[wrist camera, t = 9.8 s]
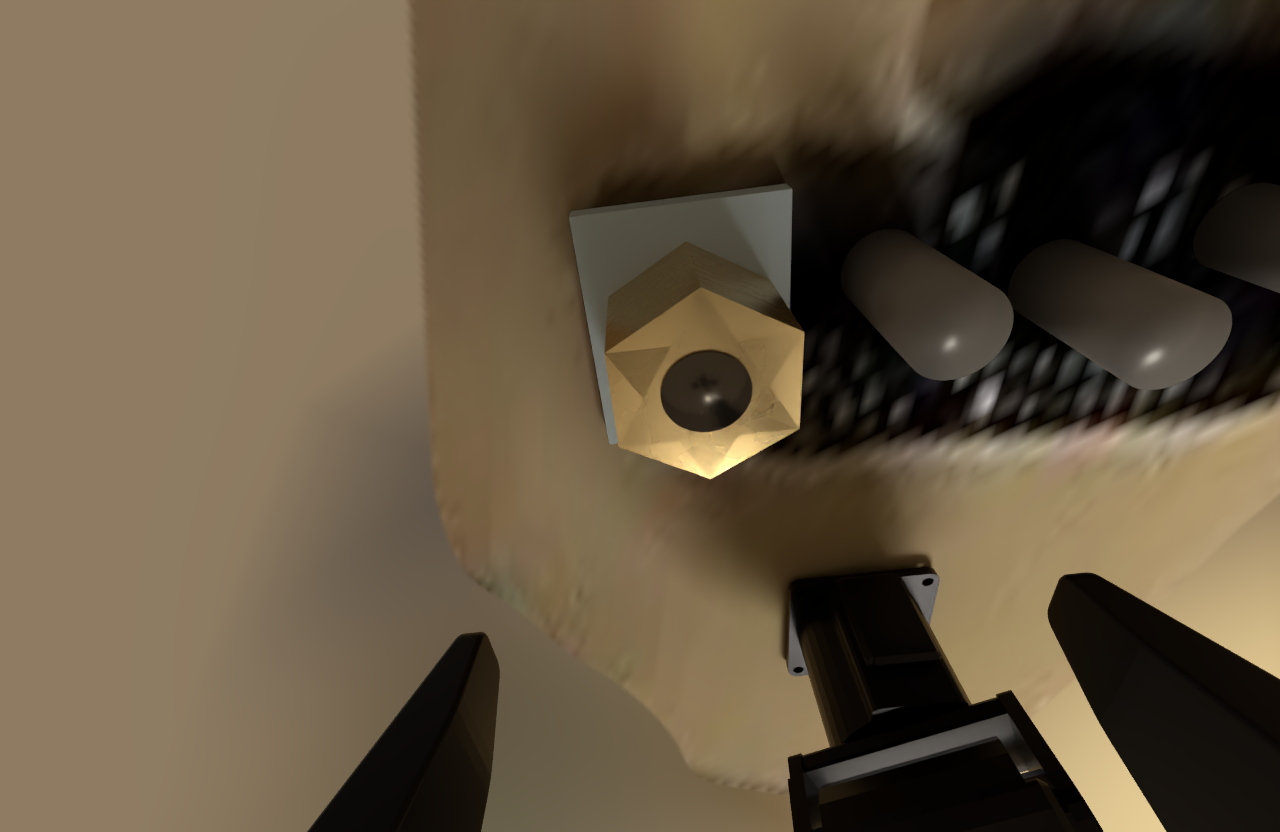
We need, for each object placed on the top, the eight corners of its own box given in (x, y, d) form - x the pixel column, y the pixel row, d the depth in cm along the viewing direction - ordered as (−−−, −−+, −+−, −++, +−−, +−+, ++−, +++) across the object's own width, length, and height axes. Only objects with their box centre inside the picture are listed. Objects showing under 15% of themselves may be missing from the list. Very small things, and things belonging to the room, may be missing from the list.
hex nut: (768, 400, 20) (798, 471, 17) (624, 414, 20) (624, 489, 17) (770, 231, 17) (807, 276, 13) (601, 250, 17) (596, 299, 14)
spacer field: (1249, 292, 19) (1427, 359, 15) (836, 340, 20) (894, 418, 15) (1574, -412, 11) (2136, -690, 7) (879, -299, 12) (1019, -493, 8)
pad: (782, 412, 21) (787, 424, 21) (609, 432, 21) (609, 444, 21) (785, 183, 17) (792, 188, 16) (571, 211, 17) (568, 217, 17)
